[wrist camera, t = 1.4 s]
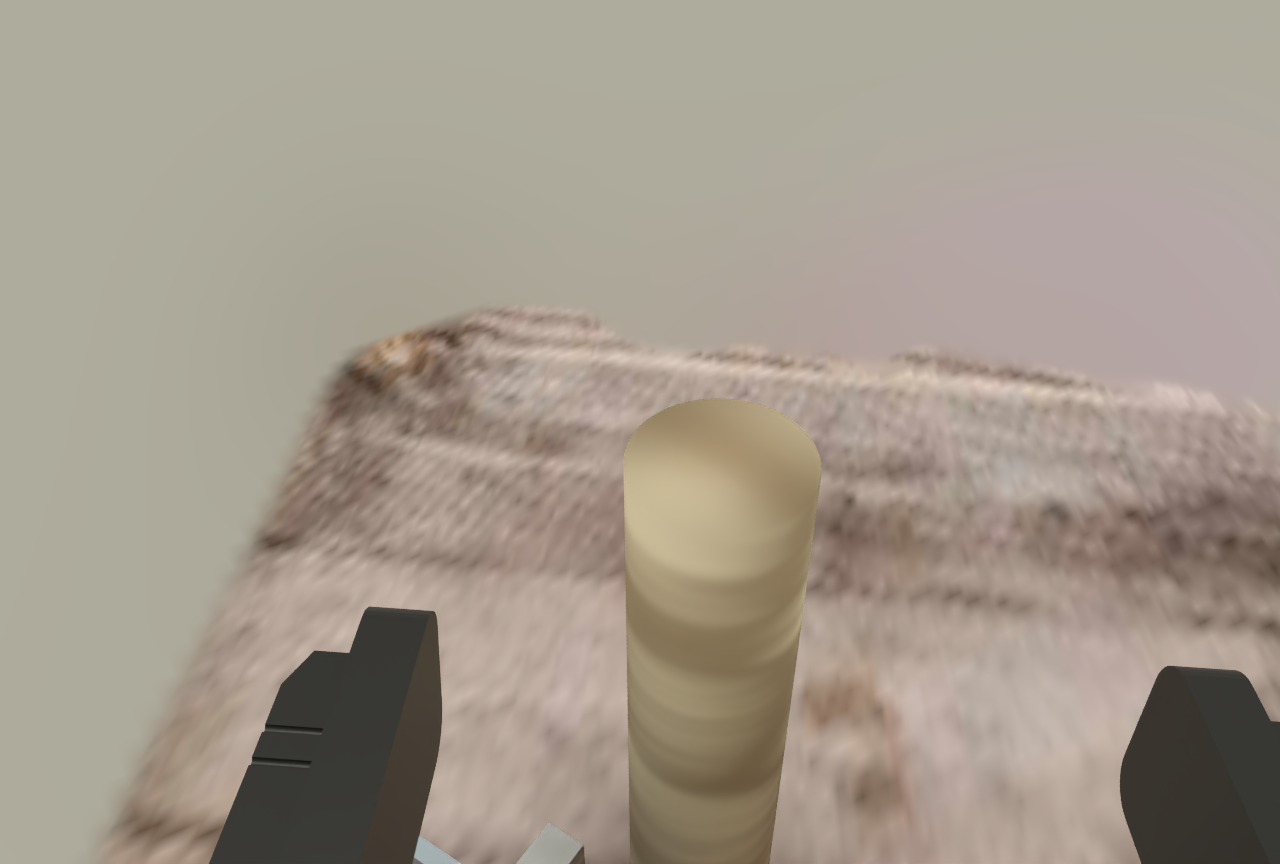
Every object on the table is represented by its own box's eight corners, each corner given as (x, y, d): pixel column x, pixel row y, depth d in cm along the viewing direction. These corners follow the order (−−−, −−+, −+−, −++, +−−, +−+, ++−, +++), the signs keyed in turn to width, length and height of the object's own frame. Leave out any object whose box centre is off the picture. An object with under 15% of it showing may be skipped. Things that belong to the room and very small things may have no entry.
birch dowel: (676, 815, 38) (690, 376, 26) (786, 880, 36) (855, 443, 24) (604, 915, 36) (584, 480, 24) (719, 990, 34) (759, 563, 22)
